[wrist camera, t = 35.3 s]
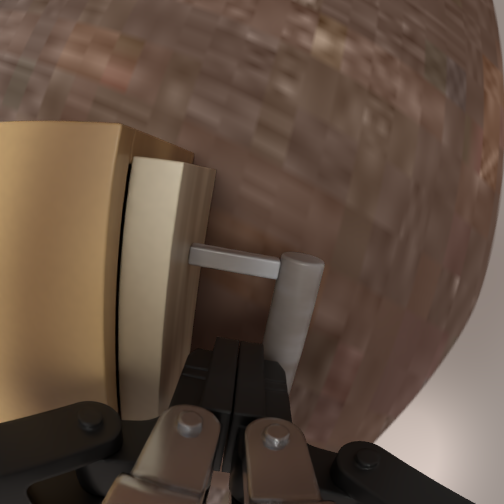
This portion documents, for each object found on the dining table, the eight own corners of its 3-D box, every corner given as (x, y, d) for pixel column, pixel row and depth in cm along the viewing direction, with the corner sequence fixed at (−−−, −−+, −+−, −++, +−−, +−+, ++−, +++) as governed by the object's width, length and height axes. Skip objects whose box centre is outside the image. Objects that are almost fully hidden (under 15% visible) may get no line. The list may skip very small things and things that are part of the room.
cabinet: (194, 153, 14) (122, 123, 6) (166, 389, 17) (124, 511, 8) (-24, 139, 13) (-129, 139, 5) (-22, 325, 16) (-99, 382, 8)
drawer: (315, 188, 13) (374, 199, 7) (263, 407, 16) (269, 510, 9) (-14, 148, 13) (-104, 149, 6) (-10, 332, 15) (-75, 382, 8)
